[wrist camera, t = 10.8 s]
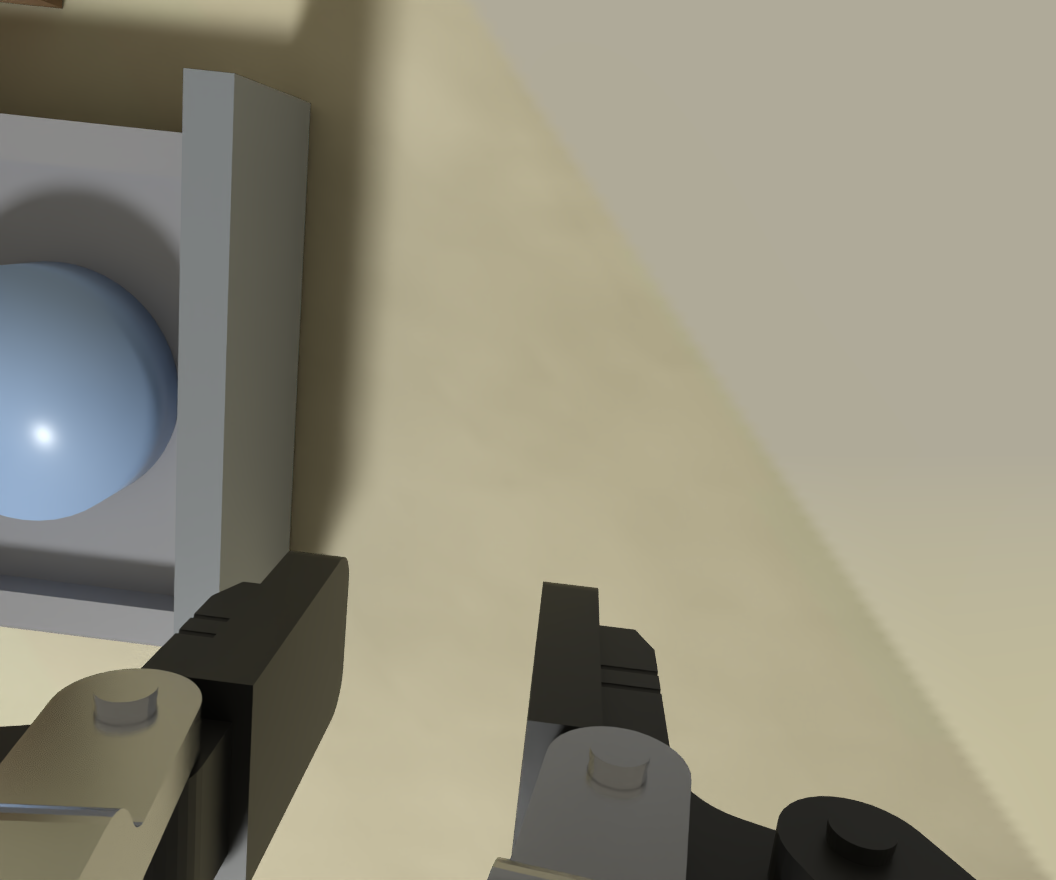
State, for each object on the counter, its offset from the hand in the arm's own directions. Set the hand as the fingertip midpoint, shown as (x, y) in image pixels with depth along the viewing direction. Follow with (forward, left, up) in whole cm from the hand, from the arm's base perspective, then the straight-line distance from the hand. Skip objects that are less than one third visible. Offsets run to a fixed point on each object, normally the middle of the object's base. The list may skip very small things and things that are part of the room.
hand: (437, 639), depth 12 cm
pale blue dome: (+11, 0, -11) cm, 16 cm away
